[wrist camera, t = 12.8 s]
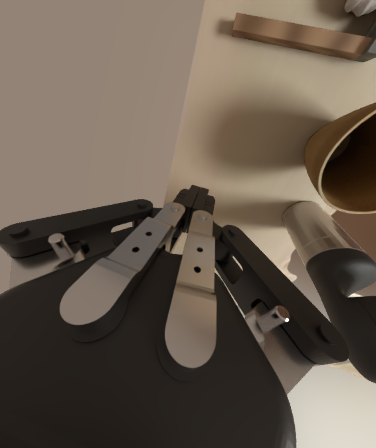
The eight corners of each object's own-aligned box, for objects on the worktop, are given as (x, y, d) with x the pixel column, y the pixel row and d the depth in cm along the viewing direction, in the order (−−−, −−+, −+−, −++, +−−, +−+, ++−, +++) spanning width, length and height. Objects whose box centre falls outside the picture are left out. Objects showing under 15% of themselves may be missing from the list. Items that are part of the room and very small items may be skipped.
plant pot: (338, 184, 34) (400, 223, 21) (273, 172, 36) (296, 203, 23) (404, 102, 25) (580, 89, 12) (312, 92, 26) (384, 72, 14)
